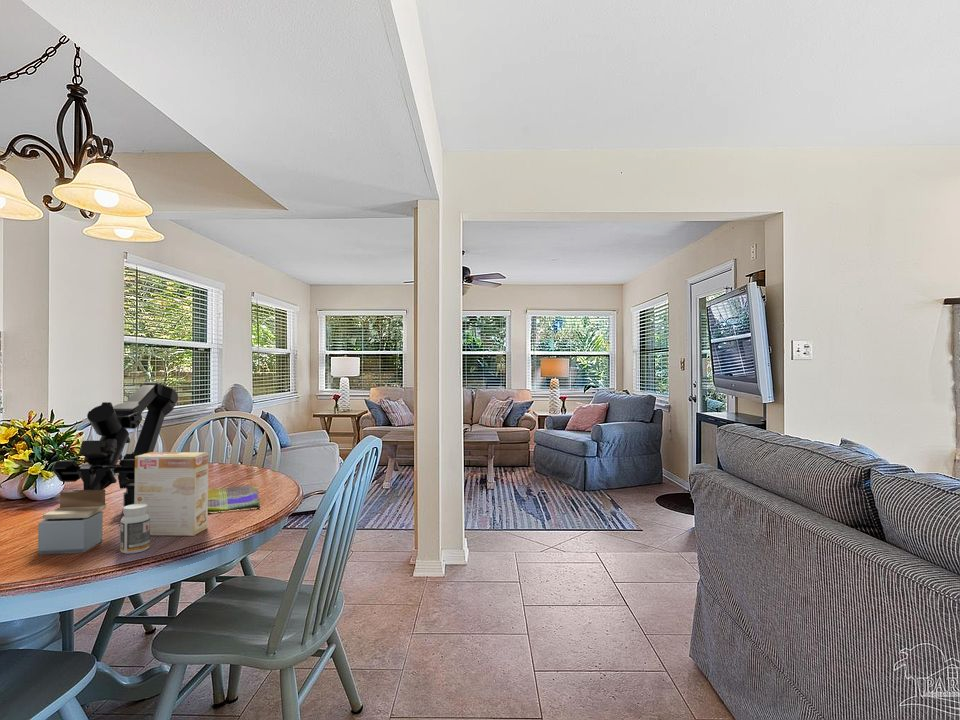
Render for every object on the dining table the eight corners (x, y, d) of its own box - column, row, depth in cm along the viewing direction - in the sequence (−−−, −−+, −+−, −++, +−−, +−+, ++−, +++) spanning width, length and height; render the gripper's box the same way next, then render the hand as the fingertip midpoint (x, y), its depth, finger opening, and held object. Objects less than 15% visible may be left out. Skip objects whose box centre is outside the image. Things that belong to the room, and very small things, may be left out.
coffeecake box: (208, 527, 139) (209, 451, 139) (193, 536, 132) (195, 456, 132) (150, 527, 139) (151, 451, 139) (132, 536, 132) (133, 455, 132)
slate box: (59, 542, 127) (60, 512, 127) (102, 540, 128) (102, 511, 128) (37, 554, 119) (38, 522, 119) (83, 552, 120) (84, 520, 120)
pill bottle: (155, 545, 125) (155, 502, 125) (140, 554, 119) (141, 509, 120) (129, 545, 125) (130, 502, 125) (113, 554, 119) (114, 509, 119)
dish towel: (192, 517, 150) (192, 507, 150) (198, 497, 172) (198, 488, 172) (260, 511, 157) (260, 501, 157) (258, 492, 179) (258, 484, 179)
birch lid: (64, 509, 128) (64, 490, 128) (105, 508, 130) (106, 489, 130) (42, 519, 120) (43, 498, 120) (87, 517, 122) (88, 497, 122)
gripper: (57, 427, 133) (26, 482, 122) (140, 427, 136) (117, 480, 125) (74, 454, 141) (47, 508, 130) (152, 453, 144) (132, 505, 133)
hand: (85, 500), depth 129 cm, fingers closed, pressing on birch lid
